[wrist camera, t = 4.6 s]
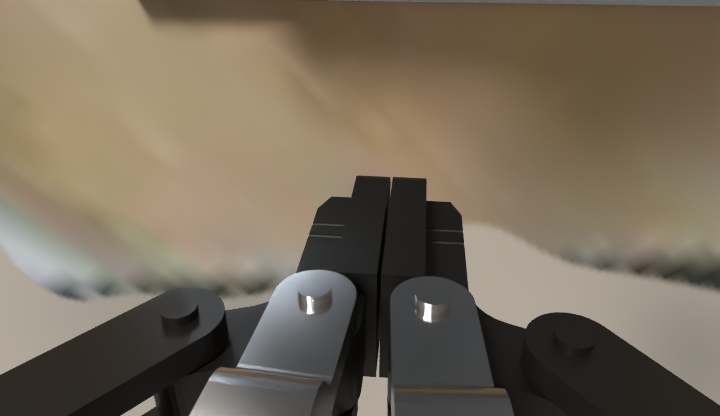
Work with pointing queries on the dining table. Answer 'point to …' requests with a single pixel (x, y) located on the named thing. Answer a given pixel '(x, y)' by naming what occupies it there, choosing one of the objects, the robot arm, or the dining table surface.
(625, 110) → the dining table surface
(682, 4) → the vise body
